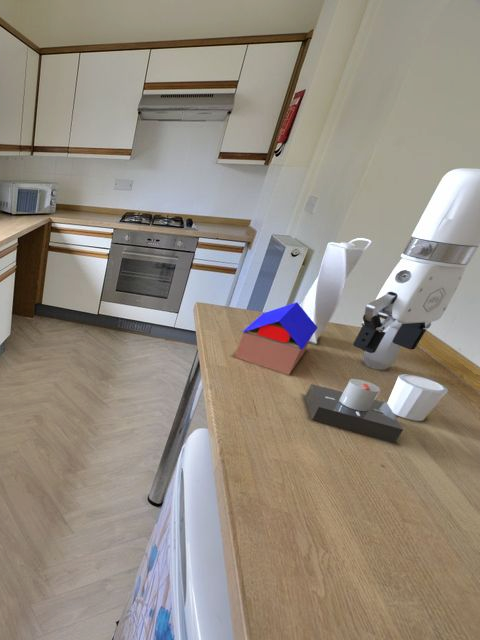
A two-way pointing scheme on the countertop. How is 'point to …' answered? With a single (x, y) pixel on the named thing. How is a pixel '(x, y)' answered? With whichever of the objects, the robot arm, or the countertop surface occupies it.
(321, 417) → the hob panel
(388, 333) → the salt shaker
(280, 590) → the countertop surface
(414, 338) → the robot arm
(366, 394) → the hob knob
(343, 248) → the skyscraper
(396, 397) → the shot glass
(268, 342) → the house
